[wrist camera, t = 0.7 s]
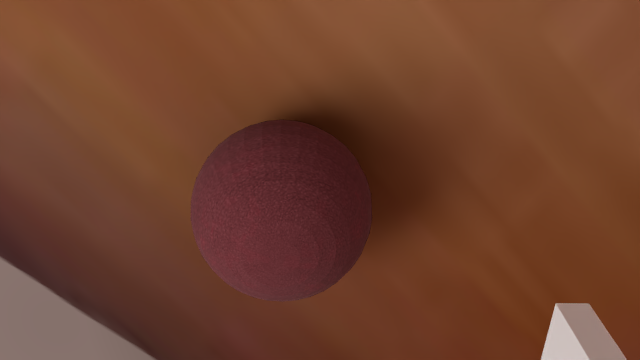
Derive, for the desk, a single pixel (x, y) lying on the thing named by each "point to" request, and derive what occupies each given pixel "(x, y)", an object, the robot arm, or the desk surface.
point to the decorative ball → (281, 210)
